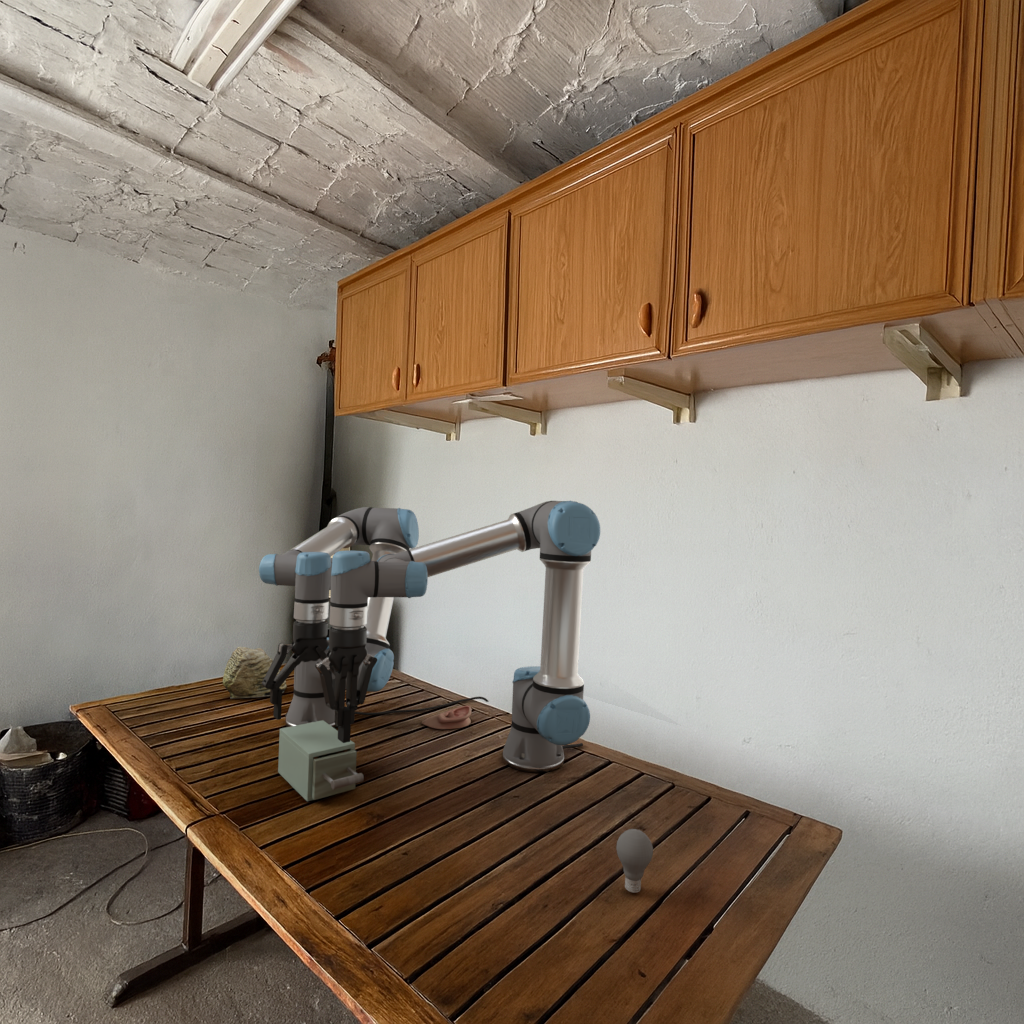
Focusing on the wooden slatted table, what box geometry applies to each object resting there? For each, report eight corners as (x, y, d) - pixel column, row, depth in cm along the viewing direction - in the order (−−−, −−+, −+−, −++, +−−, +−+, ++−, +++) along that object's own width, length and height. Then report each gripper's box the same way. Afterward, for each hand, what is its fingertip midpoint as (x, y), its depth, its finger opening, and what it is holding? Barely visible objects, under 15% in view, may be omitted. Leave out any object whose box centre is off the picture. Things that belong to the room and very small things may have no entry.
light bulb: (610, 879, 108) (613, 822, 108) (644, 879, 109) (647, 822, 109) (619, 902, 102) (622, 840, 102) (655, 901, 103) (658, 840, 103)
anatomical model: (418, 712, 176) (431, 700, 187) (417, 726, 176) (431, 713, 188) (464, 718, 174) (475, 705, 185) (463, 732, 174) (474, 718, 185)
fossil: (218, 695, 195) (220, 647, 195) (278, 685, 208) (279, 640, 207) (228, 703, 189) (230, 653, 188) (289, 692, 201) (290, 645, 201)
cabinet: (353, 788, 138) (355, 743, 138) (307, 801, 131) (309, 753, 131) (321, 761, 151) (323, 720, 151) (277, 772, 144) (279, 728, 144)
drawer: (368, 800, 131) (370, 761, 131) (326, 812, 125) (328, 772, 125) (325, 763, 148) (326, 729, 148) (286, 772, 142) (287, 737, 142)
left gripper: (260, 627, 134) (256, 727, 134) (368, 618, 150) (364, 707, 150) (249, 621, 139) (245, 717, 140) (354, 613, 155) (350, 699, 156)
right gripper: (325, 632, 123) (320, 753, 123) (385, 626, 131) (381, 739, 132) (310, 625, 129) (305, 741, 129) (368, 620, 137) (364, 728, 137)
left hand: (307, 712), depth 145 cm, fingers open, 13 cm apart
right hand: (343, 740), depth 130 cm, fingers closed
